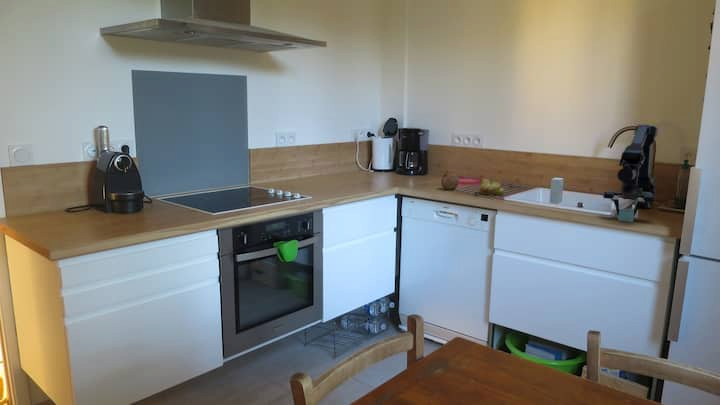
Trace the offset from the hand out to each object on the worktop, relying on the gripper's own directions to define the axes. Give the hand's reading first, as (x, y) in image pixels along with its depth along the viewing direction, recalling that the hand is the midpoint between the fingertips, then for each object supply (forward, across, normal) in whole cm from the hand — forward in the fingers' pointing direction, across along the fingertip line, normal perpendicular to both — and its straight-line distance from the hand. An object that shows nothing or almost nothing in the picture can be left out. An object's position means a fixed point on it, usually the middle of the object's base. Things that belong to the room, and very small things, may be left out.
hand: (625, 215), depth 219 cm
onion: (+2, -84, +37) cm, 92 cm away
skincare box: (+2, -29, +24) cm, 38 cm away
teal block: (+2, 0, 0) cm, 2 cm away
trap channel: (+2, 0, +12) cm, 12 cm away
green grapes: (+2, -61, +33) cm, 70 cm away
